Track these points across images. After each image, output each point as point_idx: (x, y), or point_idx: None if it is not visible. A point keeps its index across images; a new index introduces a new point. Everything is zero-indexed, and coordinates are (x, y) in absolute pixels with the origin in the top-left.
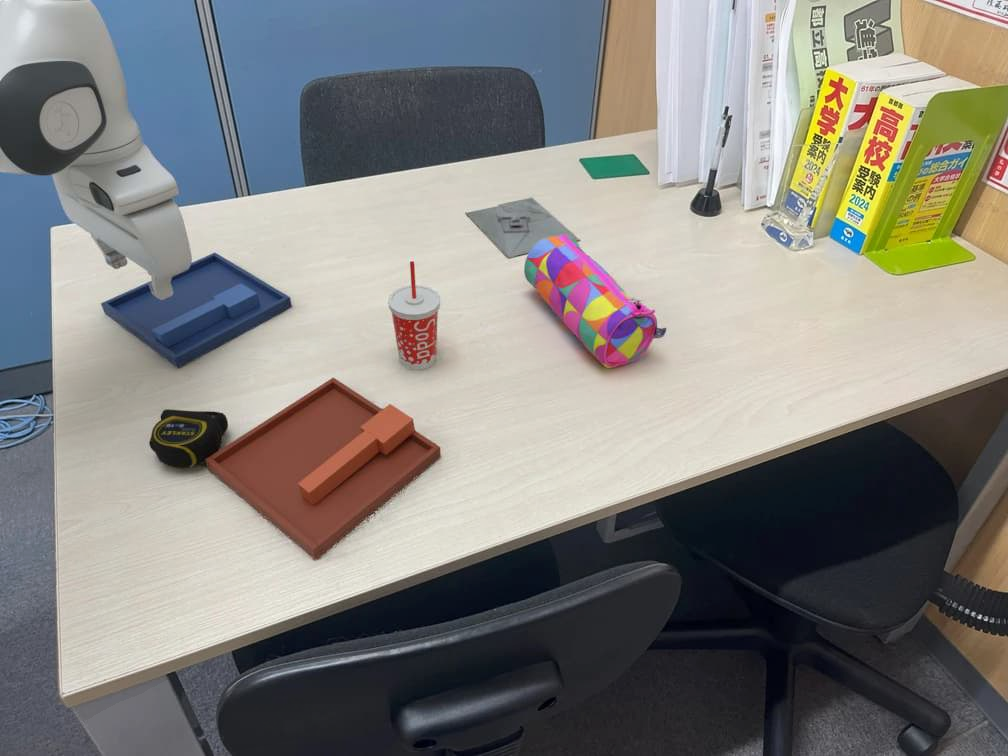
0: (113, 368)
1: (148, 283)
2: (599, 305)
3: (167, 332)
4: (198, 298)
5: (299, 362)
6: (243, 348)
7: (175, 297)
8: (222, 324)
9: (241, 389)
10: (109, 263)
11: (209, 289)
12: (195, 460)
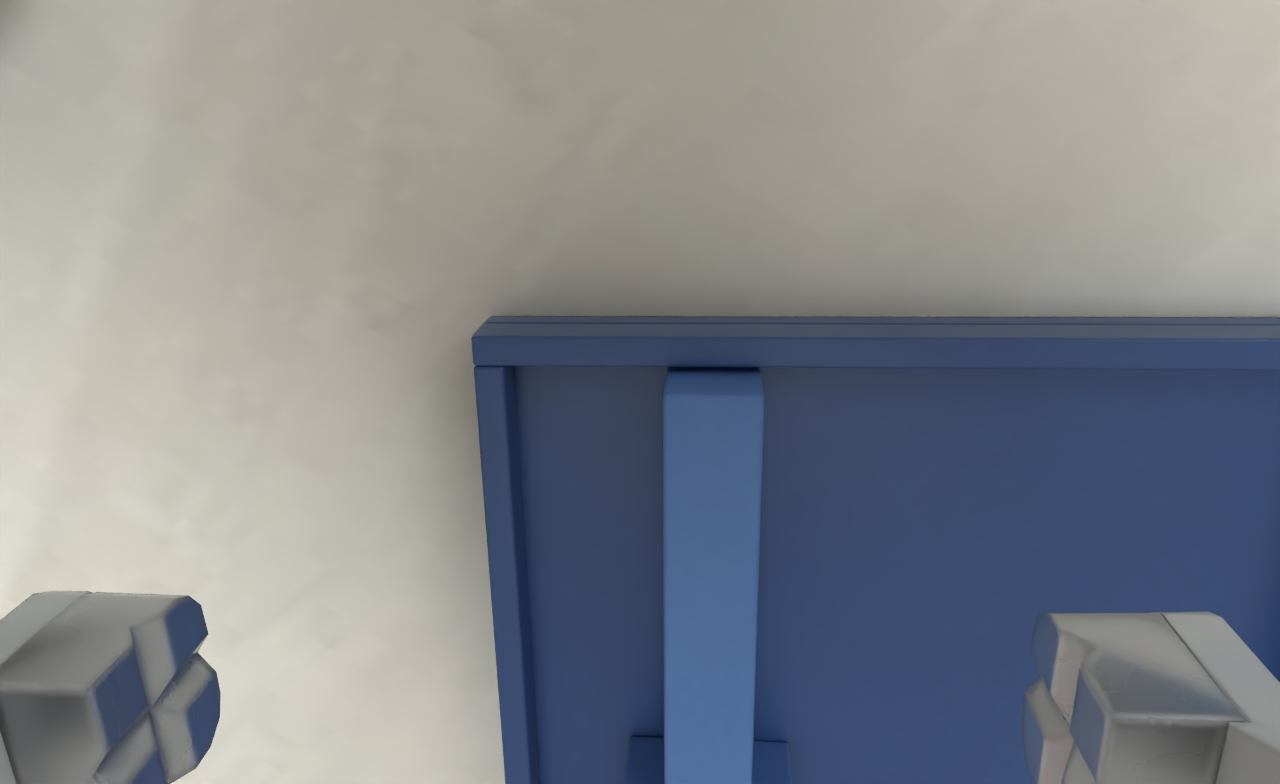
0: (784, 50)
1: (77, 687)
2: None
3: (665, 443)
4: (964, 742)
5: None
6: (403, 629)
7: None
8: (631, 683)
9: (104, 435)
10: (1135, 634)
11: None
12: None
